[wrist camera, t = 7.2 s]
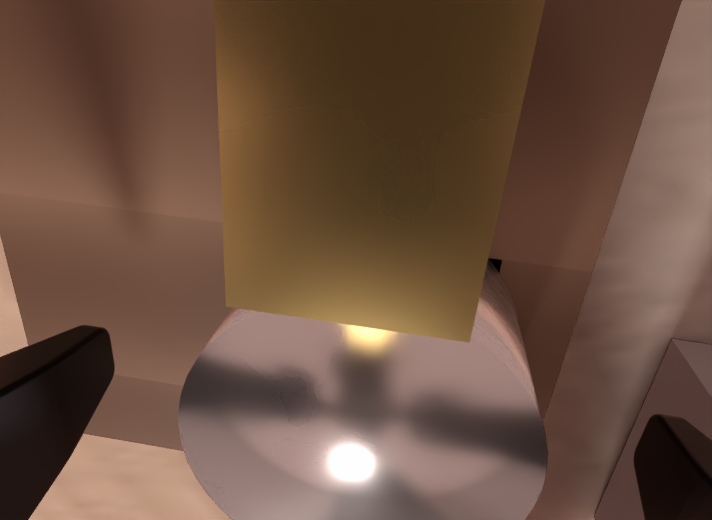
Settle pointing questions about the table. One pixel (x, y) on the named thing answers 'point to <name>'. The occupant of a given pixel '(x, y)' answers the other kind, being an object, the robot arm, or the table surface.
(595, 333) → the table surface
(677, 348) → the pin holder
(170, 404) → the hitch block
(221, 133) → the brass bolt
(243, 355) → the steel pin
